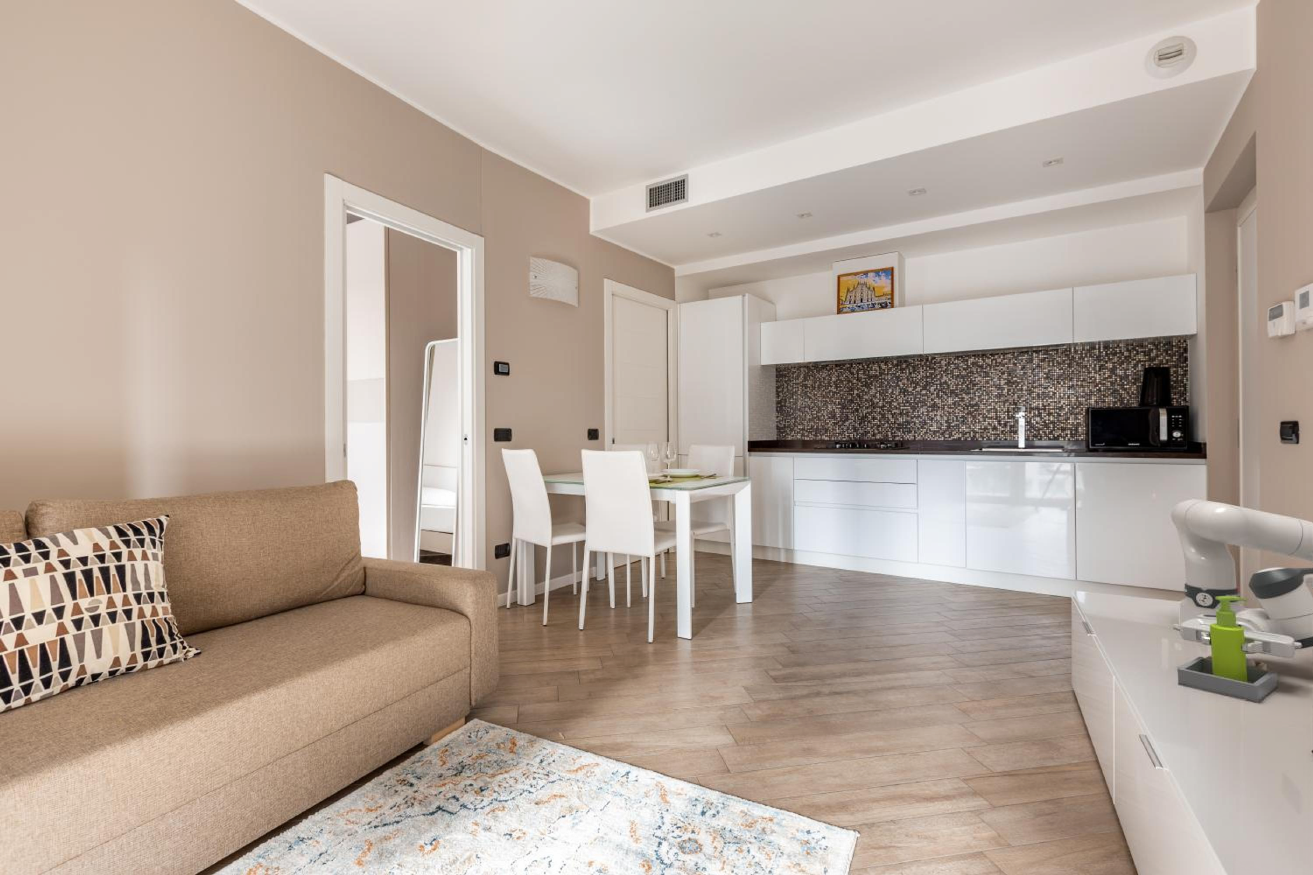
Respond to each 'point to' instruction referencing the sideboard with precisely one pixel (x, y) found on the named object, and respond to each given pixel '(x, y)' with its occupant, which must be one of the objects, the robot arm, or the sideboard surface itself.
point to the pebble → (1250, 663)
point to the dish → (1228, 681)
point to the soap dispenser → (1228, 643)
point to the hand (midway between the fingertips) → (1225, 644)
